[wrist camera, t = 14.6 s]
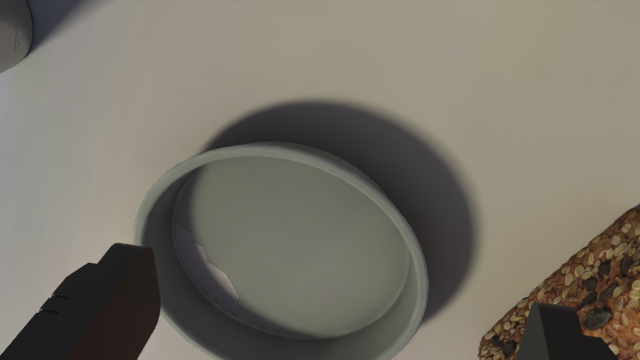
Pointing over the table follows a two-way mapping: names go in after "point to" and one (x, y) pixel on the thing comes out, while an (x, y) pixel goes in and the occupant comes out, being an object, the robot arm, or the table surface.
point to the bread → (587, 295)
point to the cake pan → (286, 255)
